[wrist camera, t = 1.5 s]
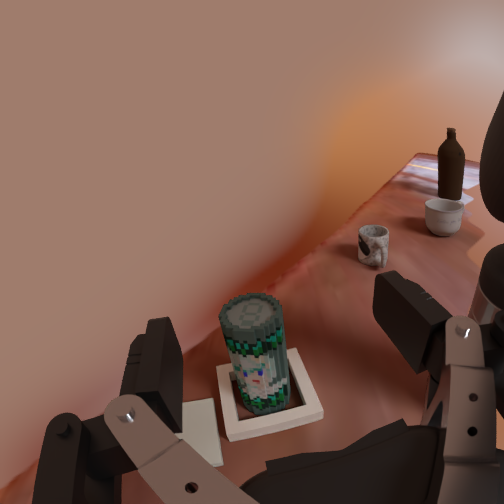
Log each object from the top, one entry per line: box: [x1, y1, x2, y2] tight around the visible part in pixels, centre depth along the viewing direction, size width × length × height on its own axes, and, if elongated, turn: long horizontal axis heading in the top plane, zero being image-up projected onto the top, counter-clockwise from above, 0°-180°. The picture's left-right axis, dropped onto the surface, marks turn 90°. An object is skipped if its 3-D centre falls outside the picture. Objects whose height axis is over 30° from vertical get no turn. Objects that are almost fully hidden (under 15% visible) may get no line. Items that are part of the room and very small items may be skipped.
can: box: [219, 293, 291, 415], centre depth 33 cm, size 6×6×15 cm
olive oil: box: [438, 128, 465, 200], centre depth 85 cm, size 11×11×25 cm
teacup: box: [425, 199, 464, 236], centre depth 67 cm, size 14×11×8 cm
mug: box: [358, 225, 389, 268], centre depth 60 cm, size 10×7×7 cm, turn 0°
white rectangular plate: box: [175, 398, 224, 467], centre depth 32 cm, size 8×10×1 cm
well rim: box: [216, 348, 324, 442], centre depth 36 cm, size 12×12×2 cm
